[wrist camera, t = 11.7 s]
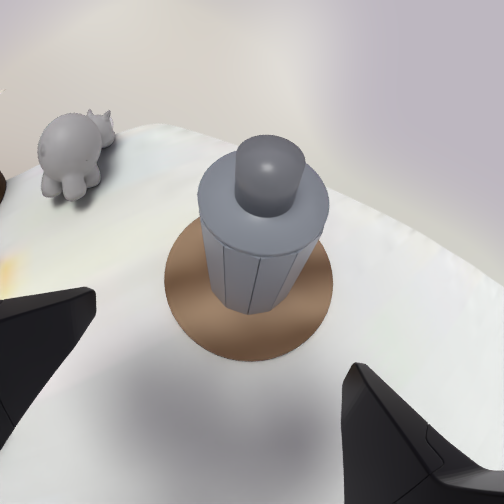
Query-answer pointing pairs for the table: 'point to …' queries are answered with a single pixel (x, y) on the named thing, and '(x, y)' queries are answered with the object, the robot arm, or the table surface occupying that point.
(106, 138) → the chubby cartoon animal
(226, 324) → the cheese board
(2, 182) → the olive oil
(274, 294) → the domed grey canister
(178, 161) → the table surface
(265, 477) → the table surface
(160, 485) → the table surface
